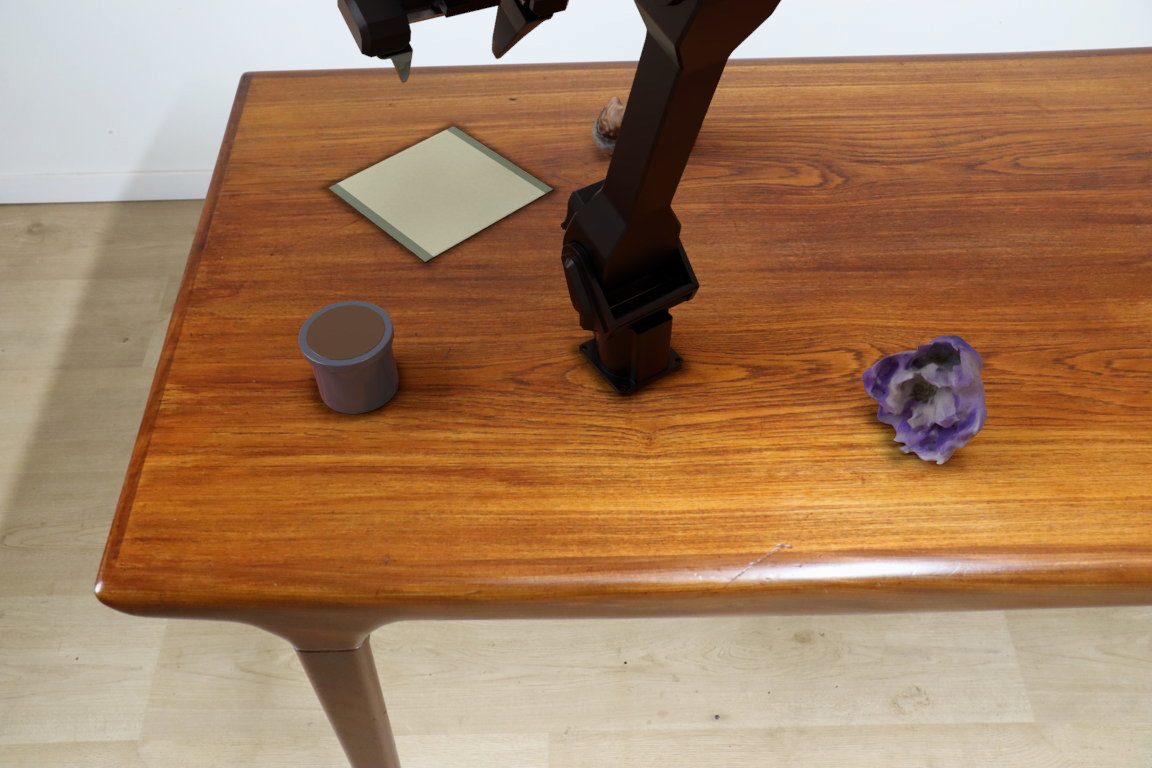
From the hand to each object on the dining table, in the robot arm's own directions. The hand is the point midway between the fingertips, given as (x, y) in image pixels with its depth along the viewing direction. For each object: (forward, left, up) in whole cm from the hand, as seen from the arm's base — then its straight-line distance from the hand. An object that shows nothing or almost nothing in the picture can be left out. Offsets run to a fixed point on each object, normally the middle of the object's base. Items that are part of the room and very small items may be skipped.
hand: (449, 66), depth 85 cm
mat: (+1, +2, -13) cm, 14 cm away
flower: (-47, -15, -14) cm, 51 cm away
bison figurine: (-4, -20, -14) cm, 24 cm away
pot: (-19, +20, -13) cm, 30 cm away
